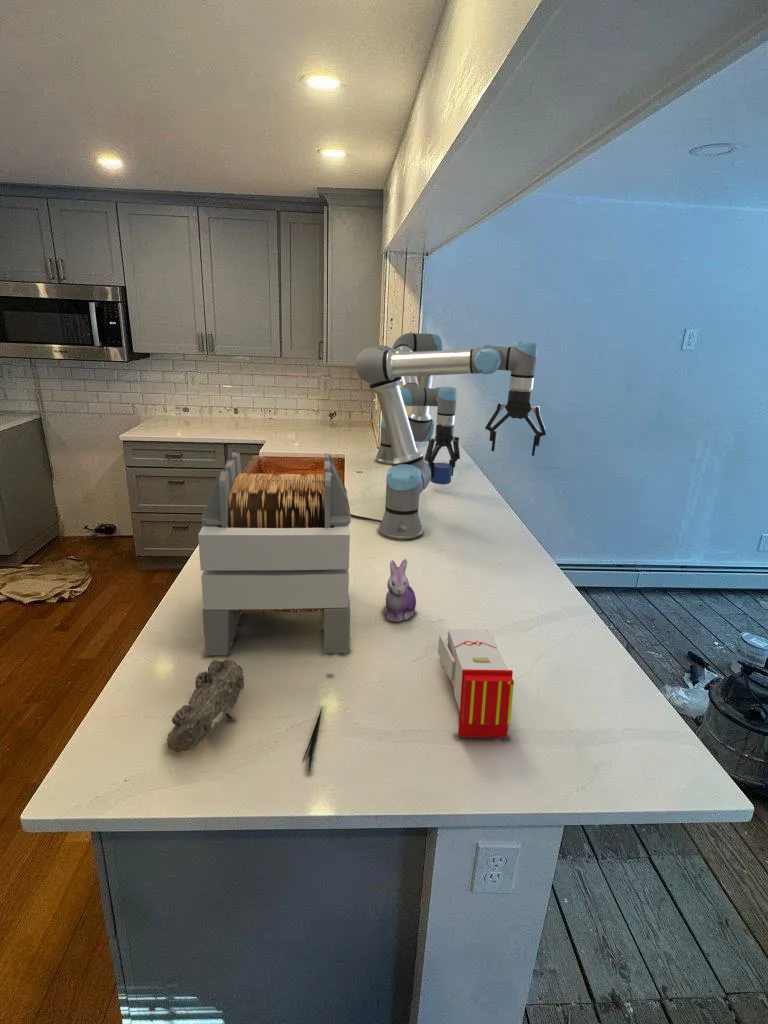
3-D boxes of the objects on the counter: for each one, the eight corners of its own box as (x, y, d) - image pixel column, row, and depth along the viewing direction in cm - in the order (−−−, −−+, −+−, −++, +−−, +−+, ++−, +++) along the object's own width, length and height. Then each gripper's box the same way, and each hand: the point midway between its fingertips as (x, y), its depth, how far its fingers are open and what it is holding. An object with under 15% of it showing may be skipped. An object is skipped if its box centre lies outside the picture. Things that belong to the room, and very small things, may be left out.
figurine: (392, 627, 141) (395, 572, 136) (374, 608, 149) (376, 556, 144) (425, 619, 145) (429, 566, 140) (405, 601, 154) (408, 550, 149)
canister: (442, 485, 241) (443, 469, 239) (426, 480, 247) (427, 464, 244) (455, 481, 247) (456, 465, 245) (439, 476, 253) (440, 461, 250)
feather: (331, 679, 122) (336, 673, 122) (307, 777, 96) (313, 769, 95) (324, 675, 122) (329, 669, 121) (298, 772, 95) (304, 764, 95)
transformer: (226, 586, 157) (217, 442, 143) (344, 585, 161) (346, 445, 147) (202, 658, 125) (189, 482, 112) (350, 654, 129) (354, 483, 115)
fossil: (192, 660, 117) (244, 628, 112) (224, 691, 120) (276, 661, 115) (142, 746, 98) (202, 712, 93) (182, 779, 101) (242, 748, 96)
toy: (488, 613, 130) (523, 677, 101) (484, 667, 133) (517, 744, 104) (435, 612, 130) (455, 676, 101) (432, 666, 133) (451, 743, 103)
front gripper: (560, 391, 187) (550, 454, 194) (484, 385, 194) (478, 446, 201) (559, 394, 180) (549, 459, 187) (481, 388, 187) (474, 450, 194)
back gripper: (427, 427, 231) (423, 480, 239) (471, 425, 240) (466, 476, 248) (418, 424, 237) (414, 475, 245) (462, 421, 246) (457, 471, 254)
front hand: (512, 452), depth 194 cm, fingers open, 13 cm apart
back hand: (440, 475), depth 246 cm, fingers closed on canister, 9 cm apart
